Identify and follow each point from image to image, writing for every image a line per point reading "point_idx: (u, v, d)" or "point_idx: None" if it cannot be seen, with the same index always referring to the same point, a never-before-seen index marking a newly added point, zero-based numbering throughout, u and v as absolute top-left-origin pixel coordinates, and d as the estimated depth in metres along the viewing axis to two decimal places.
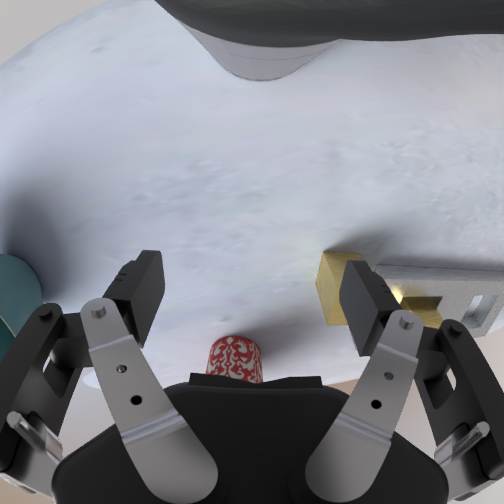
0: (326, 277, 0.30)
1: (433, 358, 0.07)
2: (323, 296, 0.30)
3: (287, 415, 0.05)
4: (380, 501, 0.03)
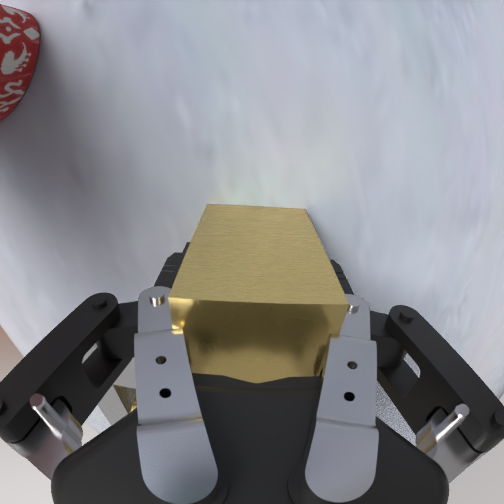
0: (280, 235, 0.10)
1: (382, 344, 0.08)
2: (224, 241, 0.10)
3: (287, 415, 0.05)
4: (380, 502, 0.03)
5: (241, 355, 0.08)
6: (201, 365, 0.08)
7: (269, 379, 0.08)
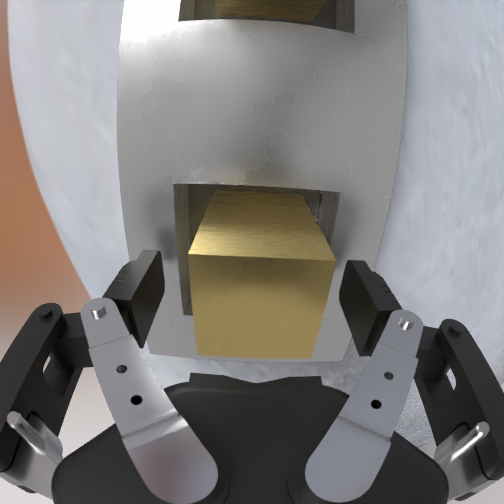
0: (280, 213, 0.12)
1: (433, 358, 0.07)
2: (232, 216, 0.11)
3: (287, 415, 0.05)
4: (380, 501, 0.03)
5: (247, 307, 0.09)
6: (212, 318, 0.10)
7: (271, 333, 0.10)
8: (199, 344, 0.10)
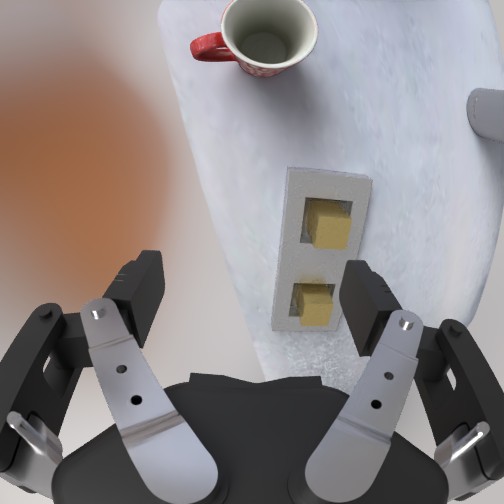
0: (320, 289, 0.46)
1: (433, 358, 0.07)
2: (309, 291, 0.45)
3: (287, 415, 0.05)
4: (380, 502, 0.03)
5: (315, 313, 0.43)
6: (307, 316, 0.43)
7: (319, 319, 0.44)
8: (302, 323, 0.44)
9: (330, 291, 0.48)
